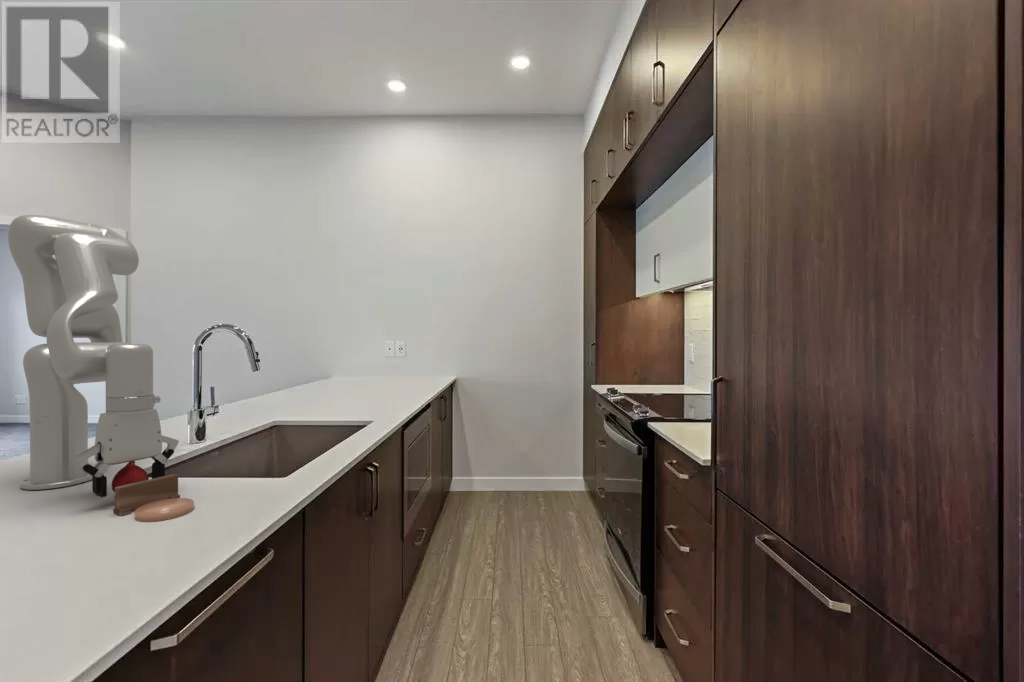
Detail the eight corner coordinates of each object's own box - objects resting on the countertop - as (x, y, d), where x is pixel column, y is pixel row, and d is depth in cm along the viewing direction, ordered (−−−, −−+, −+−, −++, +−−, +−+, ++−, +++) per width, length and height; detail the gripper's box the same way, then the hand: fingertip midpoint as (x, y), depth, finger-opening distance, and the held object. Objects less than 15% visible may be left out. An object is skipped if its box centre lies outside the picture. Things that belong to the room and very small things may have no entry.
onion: (127, 506, 93) (127, 465, 93) (104, 504, 94) (103, 464, 94) (155, 496, 98) (155, 458, 98) (132, 494, 100) (132, 456, 99)
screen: (113, 513, 89) (113, 486, 89) (172, 497, 98) (172, 473, 98) (120, 516, 88) (120, 489, 88) (180, 499, 96) (179, 475, 96)
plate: (125, 515, 88) (125, 509, 88) (178, 501, 96) (178, 495, 96) (150, 525, 84) (149, 518, 84) (203, 509, 91) (203, 502, 91)
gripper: (168, 398, 105) (168, 475, 105) (66, 409, 90) (66, 498, 90) (186, 401, 102) (186, 480, 102) (83, 412, 87) (84, 505, 87)
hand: (130, 488), depth 96 cm, fingers open, 9 cm apart
